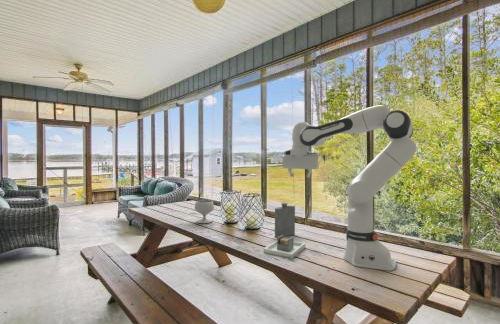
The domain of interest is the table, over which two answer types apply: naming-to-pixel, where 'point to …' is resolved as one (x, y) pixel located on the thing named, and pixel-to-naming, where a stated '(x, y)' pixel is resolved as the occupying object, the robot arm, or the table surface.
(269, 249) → the tray
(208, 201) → the chalice
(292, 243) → the caddy
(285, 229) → the hip flask
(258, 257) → the table surface
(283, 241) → the block
